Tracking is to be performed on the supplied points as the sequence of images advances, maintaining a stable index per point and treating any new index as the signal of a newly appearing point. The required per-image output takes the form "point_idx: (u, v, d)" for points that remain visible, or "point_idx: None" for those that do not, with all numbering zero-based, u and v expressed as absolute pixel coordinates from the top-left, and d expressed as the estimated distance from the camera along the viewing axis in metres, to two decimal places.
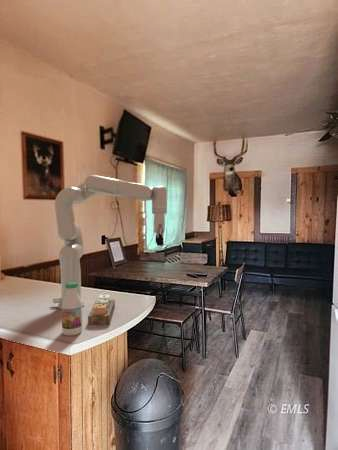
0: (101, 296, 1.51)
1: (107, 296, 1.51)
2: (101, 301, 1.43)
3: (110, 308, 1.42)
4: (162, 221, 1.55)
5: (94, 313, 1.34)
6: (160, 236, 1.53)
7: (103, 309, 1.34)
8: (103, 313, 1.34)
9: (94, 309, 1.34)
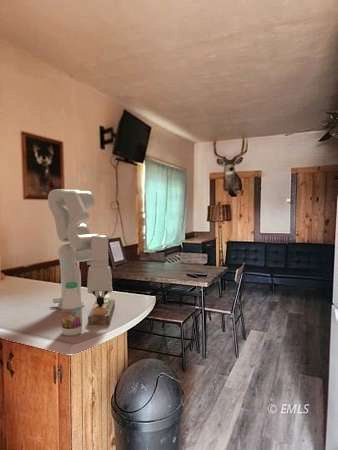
0: None
1: (107, 296, 1.51)
2: None
3: (110, 308, 1.42)
4: None
5: (94, 313, 1.34)
6: None
7: (103, 309, 1.34)
8: (103, 313, 1.34)
9: (94, 309, 1.34)
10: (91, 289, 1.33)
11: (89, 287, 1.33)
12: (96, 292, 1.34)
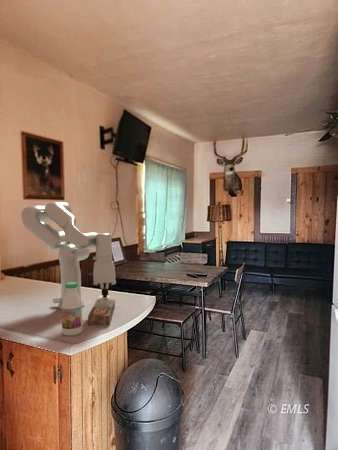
0: (101, 297, 1.51)
1: (107, 297, 1.51)
2: (101, 301, 1.43)
3: (110, 308, 1.42)
4: None
5: None
6: (109, 286, 1.51)
7: (103, 314, 1.34)
8: None
9: (94, 314, 1.34)
10: (97, 281, 1.48)
11: (95, 279, 1.48)
12: (101, 284, 1.49)
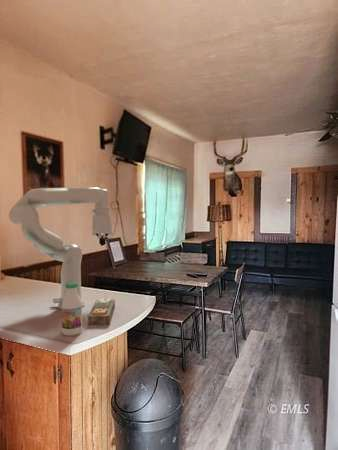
0: None
1: None
2: (101, 301, 1.43)
3: (110, 308, 1.42)
4: None
5: None
6: (106, 236, 1.72)
7: (103, 314, 1.34)
8: None
9: (94, 314, 1.34)
10: (95, 231, 1.68)
11: (93, 229, 1.68)
12: (99, 234, 1.70)
